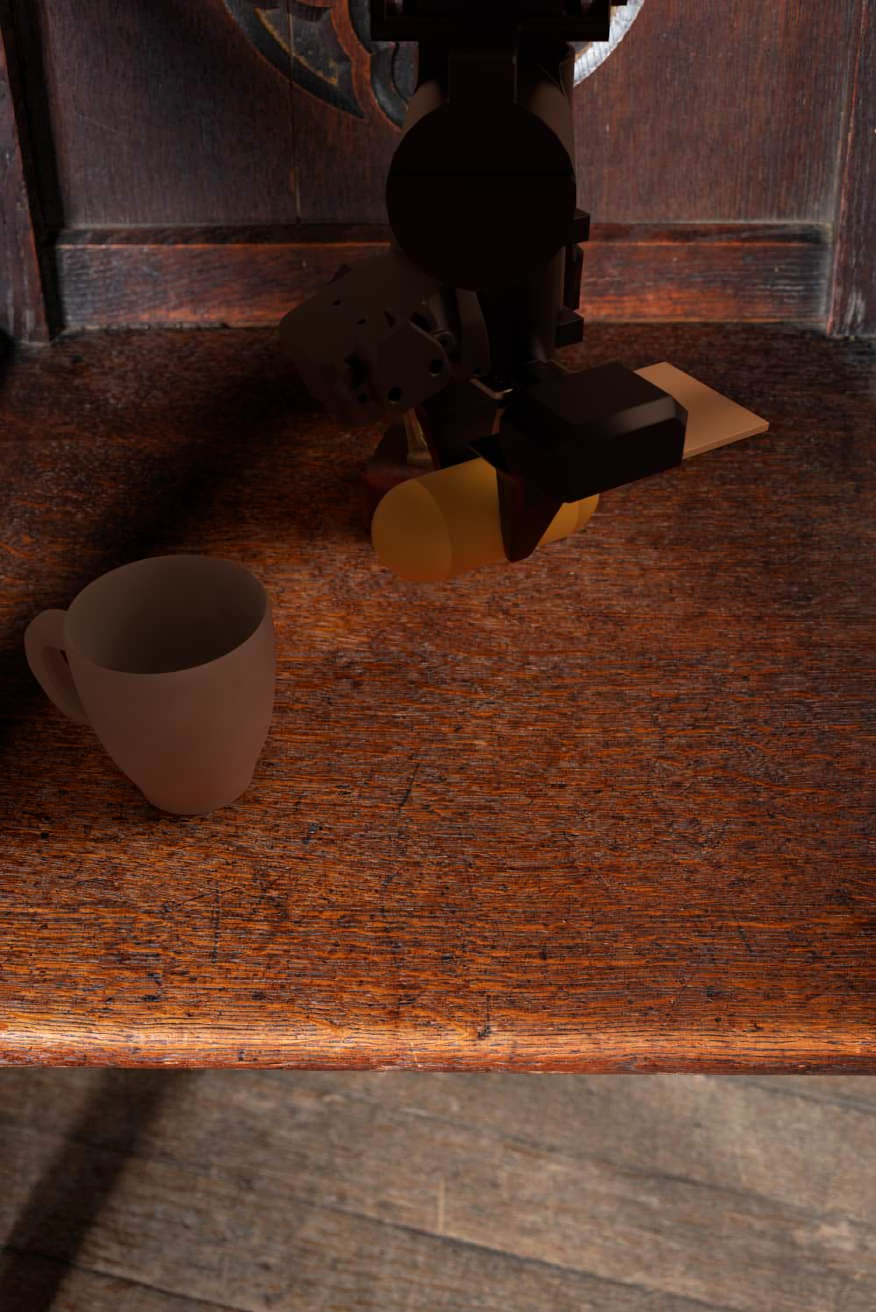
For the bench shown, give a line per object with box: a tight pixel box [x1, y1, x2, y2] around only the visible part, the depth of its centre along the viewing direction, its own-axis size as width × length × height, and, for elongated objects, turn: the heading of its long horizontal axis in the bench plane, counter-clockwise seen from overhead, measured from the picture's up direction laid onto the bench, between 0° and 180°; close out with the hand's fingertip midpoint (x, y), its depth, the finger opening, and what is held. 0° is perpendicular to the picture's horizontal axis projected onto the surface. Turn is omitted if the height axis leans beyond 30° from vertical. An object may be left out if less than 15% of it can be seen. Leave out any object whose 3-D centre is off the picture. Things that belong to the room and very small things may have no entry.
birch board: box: [632, 361, 770, 461], centre depth 85 cm, size 11×15×1 cm
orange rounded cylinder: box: [371, 457, 627, 585], centre depth 57 cm, size 14×5×5 cm, turn 121°
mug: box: [24, 554, 277, 816], centre depth 57 cm, size 12×9×10 cm
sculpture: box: [360, 408, 505, 531], centre depth 73 cm, size 10×8×15 cm
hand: (488, 532), depth 57 cm, fingers closed on orange rounded cylinder, 4 cm apart
